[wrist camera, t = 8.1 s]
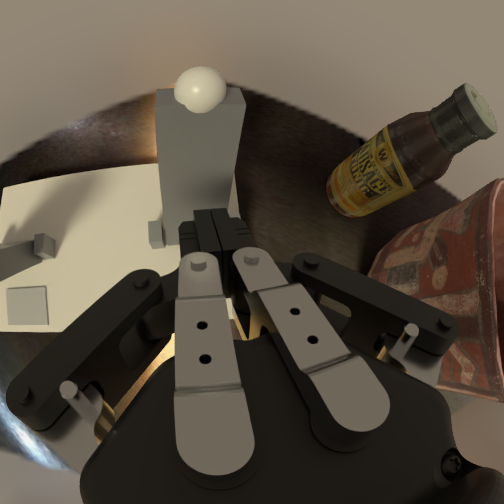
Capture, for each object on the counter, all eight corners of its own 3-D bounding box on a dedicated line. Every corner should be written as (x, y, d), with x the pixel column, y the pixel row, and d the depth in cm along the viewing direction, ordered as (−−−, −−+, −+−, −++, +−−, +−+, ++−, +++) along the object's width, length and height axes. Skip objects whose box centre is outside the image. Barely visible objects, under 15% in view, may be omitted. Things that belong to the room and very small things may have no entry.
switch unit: (245, 315, 26) (260, 316, 20) (14, 330, 20) (-16, 332, 14) (227, 173, 28) (237, 145, 23) (16, 198, 22) (-8, 178, 17)
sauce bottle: (316, 172, 31) (433, 52, 12) (358, 170, 32) (474, 75, 13) (332, 227, 30) (484, 134, 11) (375, 220, 31) (513, 146, 12)
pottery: (452, 271, 33) (554, 244, 16) (420, 391, 28) (535, 410, 11) (364, 208, 31) (481, 133, 14) (313, 353, 26) (463, 387, 9)
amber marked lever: (223, 244, 22) (253, 79, 11) (167, 249, 21) (153, 79, 10) (219, 218, 24) (242, 60, 12) (166, 222, 22) (157, 61, 11)
